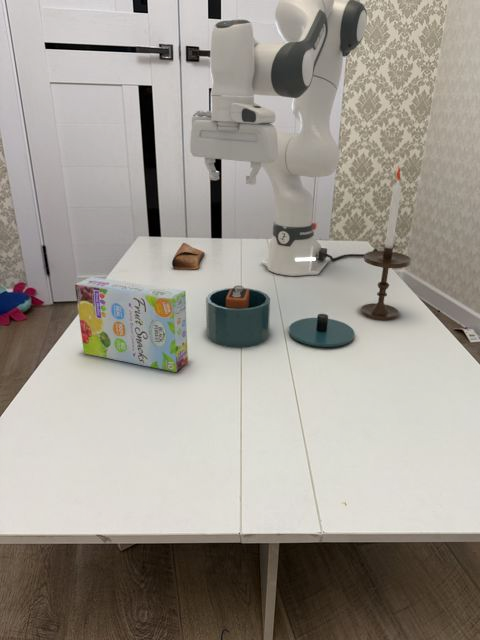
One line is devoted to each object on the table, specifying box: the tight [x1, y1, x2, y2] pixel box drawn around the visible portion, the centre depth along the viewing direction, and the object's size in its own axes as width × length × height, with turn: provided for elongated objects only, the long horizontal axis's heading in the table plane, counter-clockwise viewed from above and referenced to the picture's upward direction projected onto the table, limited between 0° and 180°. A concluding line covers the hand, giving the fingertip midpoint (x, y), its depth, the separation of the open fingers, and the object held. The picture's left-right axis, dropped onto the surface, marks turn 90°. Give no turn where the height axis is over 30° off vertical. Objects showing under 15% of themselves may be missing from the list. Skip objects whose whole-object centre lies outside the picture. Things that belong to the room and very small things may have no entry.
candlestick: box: [360, 165, 412, 321], centre depth 118 cm, size 11×11×35 cm
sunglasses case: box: [171, 242, 205, 271], centre depth 161 cm, size 18×7×7 cm
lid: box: [288, 313, 355, 348], centre depth 112 cm, size 15×15×5 cm
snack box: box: [74, 276, 189, 373], centre depth 97 cm, size 21×6×15 cm, turn 71°
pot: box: [205, 287, 271, 348], centre depth 111 cm, size 14×14×8 cm
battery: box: [226, 284, 249, 309], centre depth 110 cm, size 4×7×10 cm, turn 175°
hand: (232, 182), depth 110 cm, fingers open, 8 cm apart
